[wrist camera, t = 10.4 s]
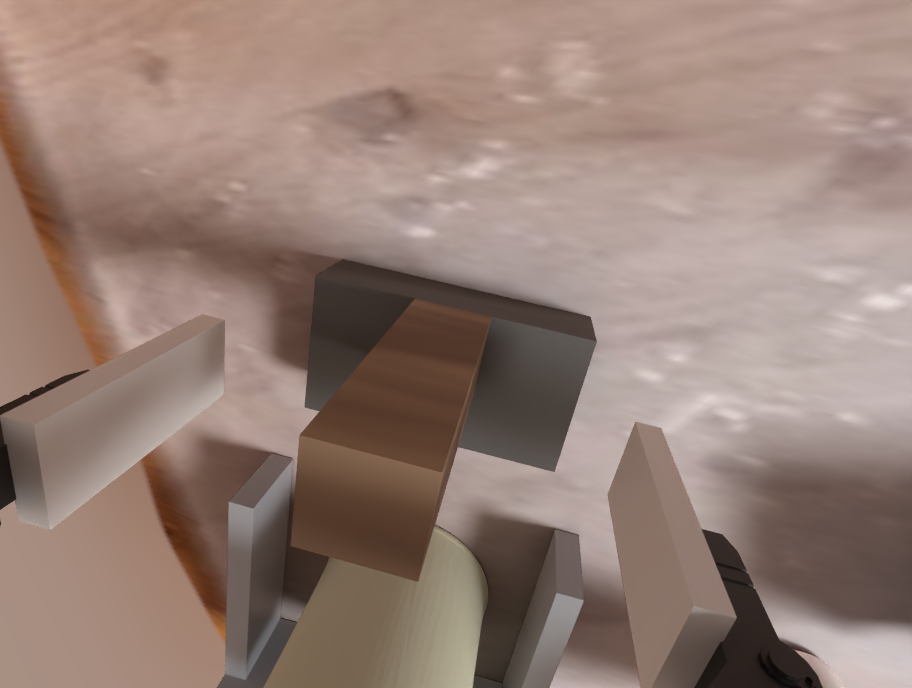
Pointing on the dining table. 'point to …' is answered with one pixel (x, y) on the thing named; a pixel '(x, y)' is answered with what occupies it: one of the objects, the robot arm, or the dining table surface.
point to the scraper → (421, 404)
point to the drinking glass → (822, 671)
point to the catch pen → (266, 634)
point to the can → (390, 625)
